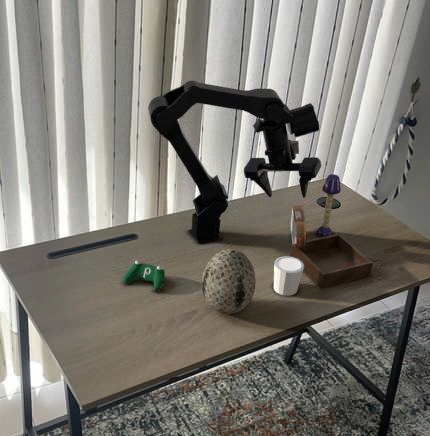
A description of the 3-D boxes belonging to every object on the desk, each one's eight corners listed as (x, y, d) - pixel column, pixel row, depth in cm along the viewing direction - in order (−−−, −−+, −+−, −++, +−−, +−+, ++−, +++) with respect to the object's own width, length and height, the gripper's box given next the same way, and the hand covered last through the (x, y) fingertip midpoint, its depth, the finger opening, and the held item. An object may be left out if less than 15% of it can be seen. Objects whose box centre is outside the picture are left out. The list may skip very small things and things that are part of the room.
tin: (304, 258, 170) (309, 229, 165) (291, 257, 169) (296, 228, 164) (299, 227, 182) (303, 200, 177) (287, 226, 182) (292, 199, 177)
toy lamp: (311, 232, 180) (321, 175, 170) (321, 226, 183) (331, 170, 173) (325, 239, 178) (336, 182, 168) (335, 233, 181) (347, 177, 171)
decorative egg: (192, 298, 153) (195, 242, 144) (239, 289, 157) (245, 234, 148) (211, 329, 145) (216, 271, 136) (260, 319, 149) (268, 262, 140)
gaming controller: (162, 294, 157) (170, 270, 157) (158, 291, 153) (165, 266, 154) (126, 285, 159) (133, 261, 159) (121, 281, 155) (129, 257, 156)
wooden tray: (321, 288, 160) (323, 274, 158) (289, 257, 170) (291, 243, 168) (369, 275, 165) (373, 262, 163) (336, 246, 176) (339, 233, 173)
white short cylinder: (280, 300, 155) (284, 275, 151) (265, 284, 160) (268, 259, 156) (305, 293, 158) (310, 268, 154) (289, 277, 162) (293, 253, 158)
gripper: (323, 124, 164) (331, 179, 174) (252, 126, 172) (264, 179, 182) (310, 148, 157) (319, 204, 166) (237, 149, 165) (249, 202, 175)
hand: (287, 196), depth 172 cm, fingers open, 9 cm apart
